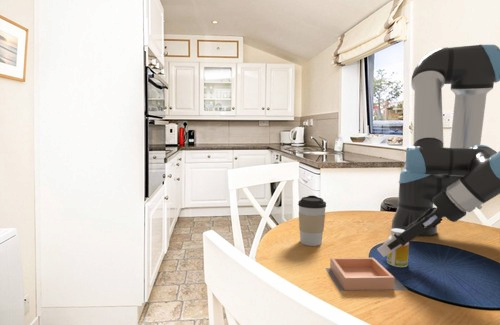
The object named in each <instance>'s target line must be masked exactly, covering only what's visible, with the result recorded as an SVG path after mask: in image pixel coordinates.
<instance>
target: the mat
mask: <svg viewBox="0 0 500 325" xmlns="http://www.w3.org/2000/svg"><path fill="white" fill-rule="evenodd" d="M325 270H326V271H327V274H328V275H329V276H330V278H331V280H332V281H333V282H334V284H335V285H336V286H335V287H337V289H338V290H339V291H342V292H344V291H345V292H346V291H347V292H349V291H350V292H351V291H352V292H353V291H358V292H359V291H364V290H344V288H343V287H342V285H341V284H340V282H339V281H338V279H337V278H336V276H335V275H334V274H333V272H332V271H331V269H330V267H325ZM388 272H389V271H388ZM389 273H390V274H392V273H391V272H389ZM408 290H409V289H408V288H407V287H405V285H403V283H401V281H399V280H398V279H397V278H396V277H395V281H394V290H393V291H408Z"/></svg>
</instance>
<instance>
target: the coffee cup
mask: <svg viewBox="0 0 500 325" xmlns="http://www.w3.org/2000/svg"><path fill="white" fill-rule="evenodd" d="M297 205H298V227H299V238H300V239H299V242H300V243H301V244H302V245H304V246H311V247H312V246H313V247H316V246H320V245H322V242H323V232H324V229H325V220H326V207H327V201H324V198H322V197H318V196H316V195H308V196H304V197H301V199H300V200H299V201H298V204H297Z"/></svg>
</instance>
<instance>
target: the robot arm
mask: <svg viewBox="0 0 500 325" xmlns="http://www.w3.org/2000/svg"><path fill="white" fill-rule="evenodd" d="M499 82H500V47H499V46H498V45H496V44H476V45H465V46H464V45H463V46H452V47H441V48H438V49H435V50H433V51H431V52H429V53H428V54H427V55H425V56H424V57H423V58H422V59H421V60H420V61H419V63H417V65H416V66H415V68H414V70H413V72H412V74H411V84H410V85H411V88H412V90H413V91H414V96H413V97H414V100H413V101H414V107H413V145H412V146H408V147H407V148H406V150H405V164H404V165H405V168H404V169H403V170H401V171H400V173H399V181H398V185H399V187H398V199H397V202H398V203H397V209H396V211H395V213H394V216H393V218H392V221H391V229H394V228H398V229H403V230H405V231H404V232H402V233H401V234H399V235H396V234H394V236H395V237H394V238H392V239H391V240H389V241H388V239H387V240H385V241H384V242H383V243H382V245H380V246H378V247H377V248H376V250H377V252H379V254H380V255H381V256H382V257H383V258H385V257H387V255H388V254H390V253H391V252H393V251H394V250H396V249H397V248H399V247H400V246H403V245H405V244H406V243H408V242H409V243H410V242H411V241H412V240H414V239H416V238H418V237H419V236H422V237H424V236H427V237H428V236H435V235H436V234H437V232H438V225H439V224H441V223H442V221H443V218H447V221H450V222H452V223H456V222H458V221H459V220H461V219H462V218H464V217H465V216H466V215H467V213H471V212H473V211H474V210H476V208H477V209H478V210H481V209H483V206H482V205H484V204H486V203H488V202H489V201H490V200H492V199H494V198H495V197H497V196H498V195H500V151H498V152H497V151H496V150H495V149H493V148H491V147H490V146H488V145H484V144H481V142H482V134H483V127H484V126H483V125H484V117H485V112H486V111H485V110H486V103H487V101H486V100H487V94H488V93H489V92H490V91H492V90H493V89H494V84H497V83H499ZM445 85H450V91H451V92H452V93H453V94H454V105H453V106H454V107H453V113H452V114H453V116H452V124H451V125H452V126H451V133H450V134H451V135H450V136H451V137H450V143H449V147H444V122H443V121H444V119H443V96H442V95H443V94H442V90H443V89H442V88H443V87H444V86H445ZM434 206H435V207H434Z"/></svg>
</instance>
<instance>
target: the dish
mask: <svg viewBox="0 0 500 325" xmlns="http://www.w3.org/2000/svg"><path fill="white" fill-rule="evenodd" d="M329 268H330V269H331V271H332V272H333V274H334V275H335V276H336V278H337V279H338V281H339V282H340V284H341V285H342V287H343V288H344V290H363V291H395V290H394V281H395V278H396V277H395V276H394V275H393V274H392V273H391V272H390V273H391V274H390V273H389V271H388V270H387V268H386V267H385V266H383V265H382V264H381V263H380V262H379V261H378V260H377V259H375V257H330V264H329Z"/></svg>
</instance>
